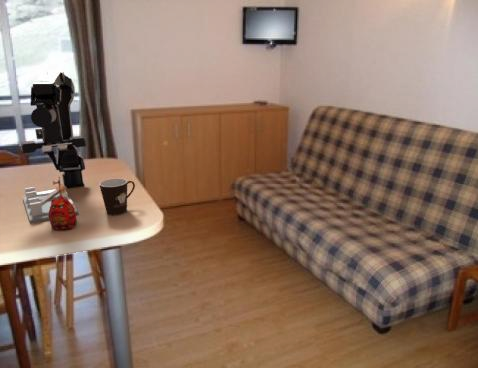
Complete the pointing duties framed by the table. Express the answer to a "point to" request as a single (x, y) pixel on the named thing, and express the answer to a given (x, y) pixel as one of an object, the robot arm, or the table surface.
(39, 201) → the strap near
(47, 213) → the grey stepped panel
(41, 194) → the strap far
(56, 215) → the red clay folk toy
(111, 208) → the coffee mug
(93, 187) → the table surface
